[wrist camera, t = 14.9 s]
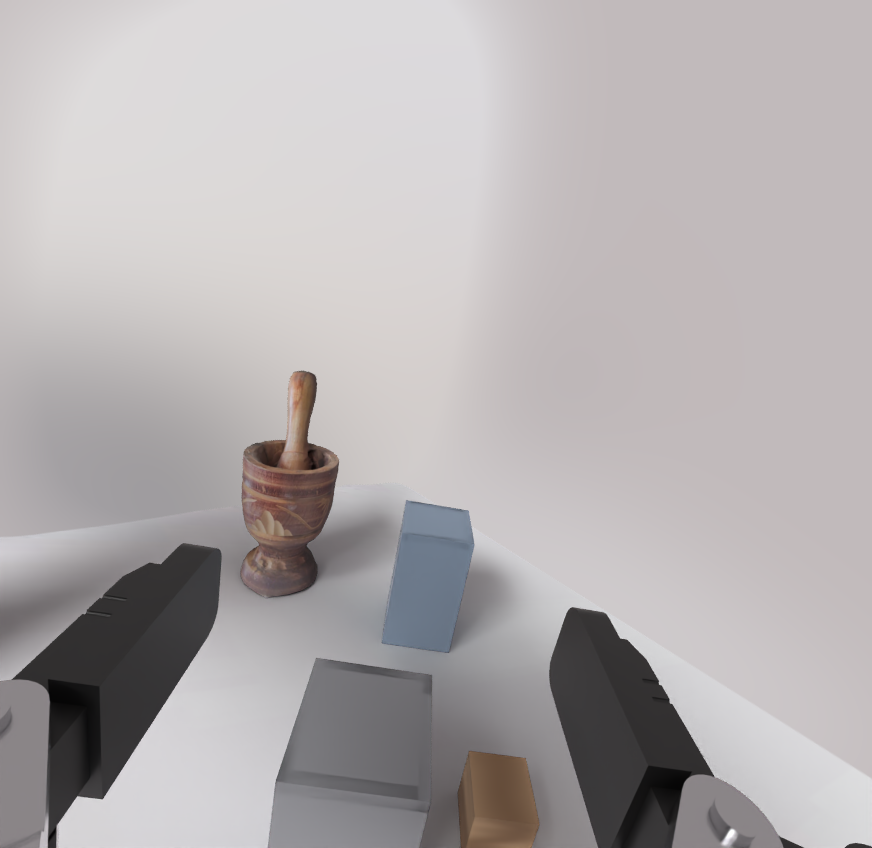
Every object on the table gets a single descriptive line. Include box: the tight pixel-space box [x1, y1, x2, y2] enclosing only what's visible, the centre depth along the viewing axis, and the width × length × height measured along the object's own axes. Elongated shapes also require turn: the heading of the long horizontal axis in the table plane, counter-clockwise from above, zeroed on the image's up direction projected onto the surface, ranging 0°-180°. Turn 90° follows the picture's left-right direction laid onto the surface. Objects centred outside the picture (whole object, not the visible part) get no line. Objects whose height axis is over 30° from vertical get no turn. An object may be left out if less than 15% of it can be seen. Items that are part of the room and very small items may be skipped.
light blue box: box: [382, 500, 474, 653], centre depth 40 cm, size 6×6×11 cm
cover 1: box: [268, 658, 432, 848], centre depth 21 cm, size 6×6×11 cm
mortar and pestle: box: [240, 371, 339, 598], centre depth 44 cm, size 12×9×20 cm
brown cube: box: [458, 751, 540, 848], centre depth 26 cm, size 4×4×4 cm
